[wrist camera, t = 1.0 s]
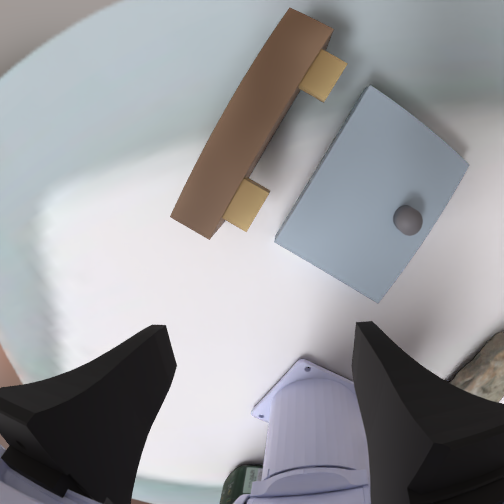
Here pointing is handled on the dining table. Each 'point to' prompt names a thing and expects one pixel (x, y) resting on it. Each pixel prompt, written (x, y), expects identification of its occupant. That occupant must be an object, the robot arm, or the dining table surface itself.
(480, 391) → the long grey stone
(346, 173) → the door panel
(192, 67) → the dining table surface
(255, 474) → the coffee jar
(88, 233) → the dining table surface
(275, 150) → the dining table surface
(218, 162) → the brown long block
